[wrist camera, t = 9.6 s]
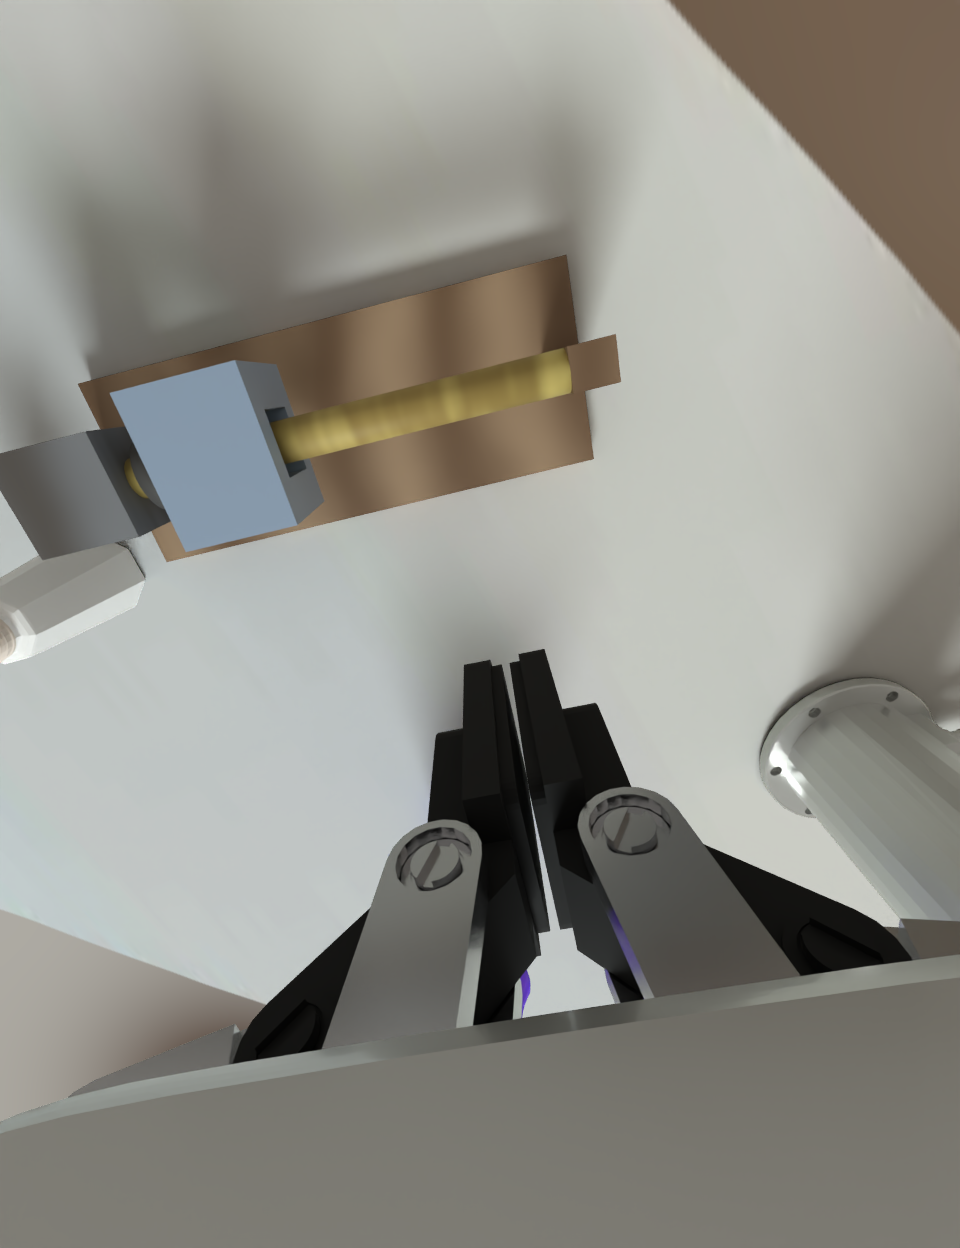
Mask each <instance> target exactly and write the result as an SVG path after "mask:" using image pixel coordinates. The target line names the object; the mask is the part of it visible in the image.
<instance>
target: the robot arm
mask: <svg viewBox="0 0 960 1248" xmlns="http://www.w3.org/2000/svg"><path fill="white" fill-rule="evenodd" d="M519 660H520V661H517V662H512V663H510V669H511V676H512V682H513V689H514V695H515V702H516V709H517V715H518V722H519V728H520V735H521V742H522V748H523V755H524V761H525V766H524V762H523V757H522V753H521V748H520V744H519V739H518V735H517V730H516V726H515V722H514V717H513V713H512V708H511V704H510V699H509V695H508V690H507V686H506V681H505V677H504V672H503V668H502V665H497V666H492V664H491V661H490V660H487V661H482V662H477V663H472V664H467V665H464V698H463V728H462V729H457V730H451V731H446V732H441V733H438V734H437V735H436V739H435V750H434V760H433V771H432V782H431V792H430V803H429V813H428V823H426V824H423V825H421V826H419V827H416V828H414V829H413V830H412V831H410V832H409V833H407V834H406V835H404V836H403V837H402V838H401V839H400V840H399V842H398V843H397V844H396V845H395V846H394V847H393V849H392V851H391V853H390V855H389V856H388V858H387V861H386V864H385V867H384V869H383V872H382V875H381V878H380V881H379V884H378V887H377V890H376V893H375V896H374V899H373V902H372V904H371V907H370V909H369V910H367V911H366V912H365V913H364V914H363V915H362V916H361V917H360V918H359V919H358V920H357V921H356V922H355V923H354V924H352V925H351V926H350V927H349V928H348V929H347V930H346V931H345V932H344V933H343V934H342V935H341V936H340V937H338V938H337V939H336V940H335V941H334V942H333V943H332V944H331V945H330V946H329V947H328V948H327V949H326V950H324V951H323V952H322V953H321V954H320V955H319V956H318V957H317V958H316V959H315V960H314V961H313V962H312V963H311V964H309V965H308V966H307V967H306V968H305V969H304V970H303V971H302V972H301V973H300V974H299V975H298V976H297V977H295V978H294V979H293V980H292V981H291V982H290V983H289V984H288V985H287V986H286V987H285V988H284V989H283V990H282V991H280V992H279V993H278V994H277V995H276V996H275V997H274V998H273V999H272V1000H271V1001H270V1002H269V1003H268V1004H267V1005H266V1006H265V1007H264V1008H263V1009H262V1010H261V1011H260V1012H259V1014H258V1015H257V1016H256V1017H255V1018H254V1019H253V1020H252V1022H251V1024H250V1025H249V1027H248V1028H247V1029H244V1030H242V1031H239V1029H238V1028H237V1027H236V1025H235V1024H233V1025H231V1026H229V1027H226V1028H223V1029H221V1030H218V1031H216V1032H213V1033H211V1034H208V1035H206V1036H203V1037H201V1038H199V1039H196V1040H194V1041H191V1042H188V1043H186V1044H183V1045H181V1046H178V1047H176V1048H174V1049H171V1050H168V1051H166V1052H164V1053H161V1054H159V1055H156V1056H154V1057H151V1058H149V1059H146V1060H144V1061H141V1062H139V1063H136V1064H134V1065H131V1066H129V1067H126V1068H124V1069H121V1070H119V1071H116V1072H114V1073H111V1074H109V1075H106V1076H104V1077H101V1078H99V1079H96V1080H94V1081H93V1082H91V1083H89V1084H87V1085H86V1086H84V1087H82V1088H80V1089H78V1090H77V1091H75V1092H74V1093H72V1094H71V1095H70V1096H69V1097H68V1098H66V1099H63V1100H60V1101H57V1102H54V1103H51V1104H48V1105H45V1106H41V1107H38V1108H35V1109H32V1110H29V1111H26V1112H23V1113H20V1114H17V1115H15V1116H13V1117H10V1118H8V1119H6V1120H4V1121H1V1122H0V1248H960V729H957V730H956V731H951V732H949V731H948V730H945V729H942V728H941V727H939V726H938V725H937V724H935V723H934V722H933V720H932V716H931V713H930V711H929V709H928V708H927V706H926V705H925V703H924V702H923V701H922V700H921V699H920V698H918V697H917V696H916V695H915V694H914V693H912V692H911V691H909V690H907V689H906V688H904V687H903V686H901V685H899V684H897V683H894V682H891V681H888V680H883V679H875V678H862V679H852V680H847V681H842V682H838V683H835V684H832V685H829V686H827V687H824V688H821V689H819V690H818V691H816V692H814V693H812V694H810V695H808V696H806V697H805V698H803V699H802V700H801V701H799V702H798V703H796V704H795V705H794V706H792V707H791V708H790V709H789V710H788V711H787V712H786V713H785V714H784V715H783V716H782V717H781V718H780V719H779V720H778V722H777V723H776V724H775V726H774V727H773V728H772V729H771V731H770V733H769V735H768V737H767V739H766V740H765V742H764V745H763V748H762V752H761V755H760V773H761V778H762V781H763V783H764V785H765V787H766V789H767V790H768V792H769V793H770V794H771V795H772V797H773V798H774V799H775V801H776V802H777V803H779V804H780V805H781V806H782V807H783V808H784V809H786V810H788V811H790V812H792V813H794V814H797V815H800V816H804V817H808V818H817V820H818V821H819V822H820V823H821V824H822V826H823V827H824V828H825V829H826V831H827V832H828V833H829V834H830V835H831V837H832V838H833V839H834V840H835V841H836V843H837V844H838V845H839V846H840V847H841V849H842V850H843V851H844V852H845V854H846V855H847V856H848V857H849V858H850V860H851V861H852V862H853V863H854V864H855V866H856V867H857V868H858V869H859V870H860V872H861V873H862V874H863V875H864V876H865V878H866V879H867V880H868V881H869V883H870V884H871V885H872V886H873V887H874V889H875V890H876V891H877V892H878V893H879V895H880V896H881V897H882V898H883V899H884V901H885V902H886V903H887V904H888V906H889V907H890V908H891V909H892V910H893V912H894V913H895V914H896V915H897V916H898V918H899V919H900V922H899V928H898V927H883V926H882V925H880V924H879V923H878V922H877V921H875V920H873V919H871V918H869V917H868V916H866V915H864V914H862V913H860V912H859V911H857V910H855V909H853V908H850V907H848V906H846V905H843V904H841V903H839V902H836V901H834V900H832V899H829V898H827V897H825V896H822V895H820V894H818V893H815V892H813V891H811V890H808V889H806V888H804V887H802V886H799V885H797V884H795V883H792V882H790V881H788V880H785V879H783V878H781V877H778V876H776V875H774V874H771V873H769V872H767V871H764V870H762V869H760V868H757V867H755V866H753V865H750V864H748V863H746V862H743V861H741V860H739V859H736V858H734V857H732V856H730V855H727V854H725V853H723V852H720V851H718V850H716V849H713V848H711V847H709V846H706V845H704V844H703V843H702V841H701V840H700V839H699V837H698V836H697V835H696V833H695V832H694V831H693V829H692V828H691V827H690V825H689V824H688V823H687V821H686V820H685V818H684V817H683V816H682V814H681V813H680V812H679V810H678V809H677V808H676V807H675V806H674V805H673V804H672V803H671V802H670V801H669V800H668V799H667V798H665V797H663V796H661V795H660V794H658V793H656V792H654V791H650V790H647V789H643V788H639V787H631V785H630V783H629V780H628V778H627V775H626V773H625V770H624V768H623V766H622V763H621V761H620V758H619V756H618V753H617V751H616V749H615V746H614V744H613V741H612V739H611V736H610V734H609V732H608V729H607V727H606V724H605V722H604V719H603V717H602V715H601V712H600V710H599V708H598V705H597V704H596V703H592V704H587V705H582V706H577V707H571V708H566V709H562V707H561V704H560V700H559V697H558V694H557V690H556V687H555V683H554V680H553V677H552V673H551V670H550V667H549V663H548V660H547V656H546V653H545V650H544V649H542V650H537V651H532V652H527V653H522V654H519ZM525 768H526V771H525ZM526 774H527V776H526ZM527 780H528V781H527ZM528 786H529V787H528ZM529 791H530V794H529ZM530 796H531V801H532V806H533V810H534V815H535V819H536V824H537V828H538V833H539V837H540V841H541V846H542V850H543V855H544V859H545V864H546V868H547V873H548V877H549V881H550V886H551V890H552V895H553V899H554V904H555V908H556V913H557V917H558V921H559V926H560V930H561V929H567V928H573V931H574V936H575V940H576V945H577V950H578V951H580V952H581V953H583V954H584V955H586V956H587V957H589V958H590V959H591V960H593V961H594V962H596V963H597V964H599V965H600V966H602V967H603V968H604V971H605V975H606V979H607V983H608V986H609V988H610V991H611V994H612V996H613V999H614V1001H615V1004H611V1005H604V1006H598V1007H591V1008H585V1009H578V1010H572V1011H565V1012H558V1013H552V1014H545V1015H539V1016H532V1017H526V1018H521V1016H522V997H523V995H522V985H521V980H520V978H521V976H522V975H523V974H524V972H525V971H526V970H527V968H528V967H529V966H530V964H531V963H532V962H533V961H534V959H535V958H536V957H537V956H541V951H540V943H539V935H538V933H542V932H548V931H550V926H549V919H548V913H547V906H546V899H545V893H544V886H543V880H542V873H541V866H540V860H539V853H538V847H537V840H536V834H535V827H534V820H533V814H532V807H531V801H530Z"/></svg>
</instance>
